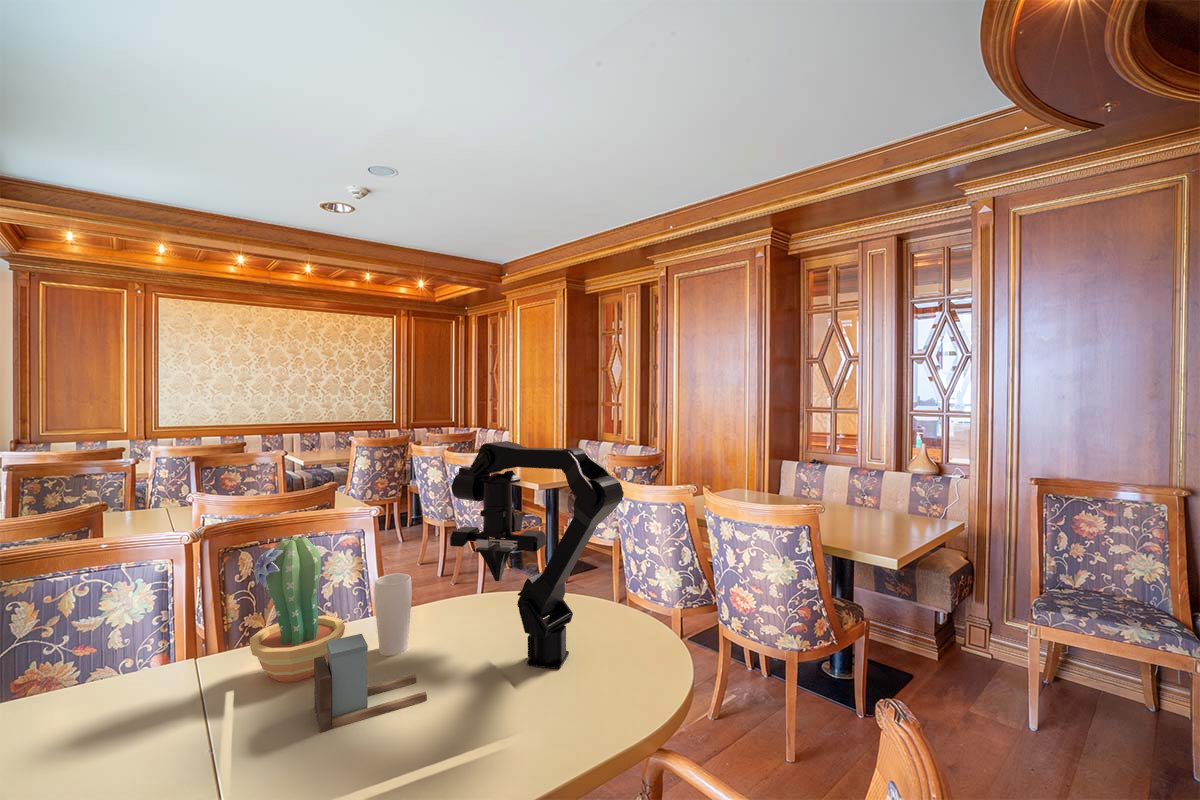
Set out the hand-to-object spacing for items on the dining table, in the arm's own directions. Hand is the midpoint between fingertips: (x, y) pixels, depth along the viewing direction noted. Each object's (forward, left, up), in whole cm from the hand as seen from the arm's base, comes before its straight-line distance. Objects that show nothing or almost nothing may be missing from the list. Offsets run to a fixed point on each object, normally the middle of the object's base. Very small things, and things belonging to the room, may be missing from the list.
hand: (498, 580), depth 114 cm
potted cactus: (+30, +20, -13) cm, 38 cm away
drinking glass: (+18, +9, -13) cm, 24 cm away
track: (+10, +27, -13) cm, 32 cm away
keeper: (+12, +29, -12) cm, 34 cm away
